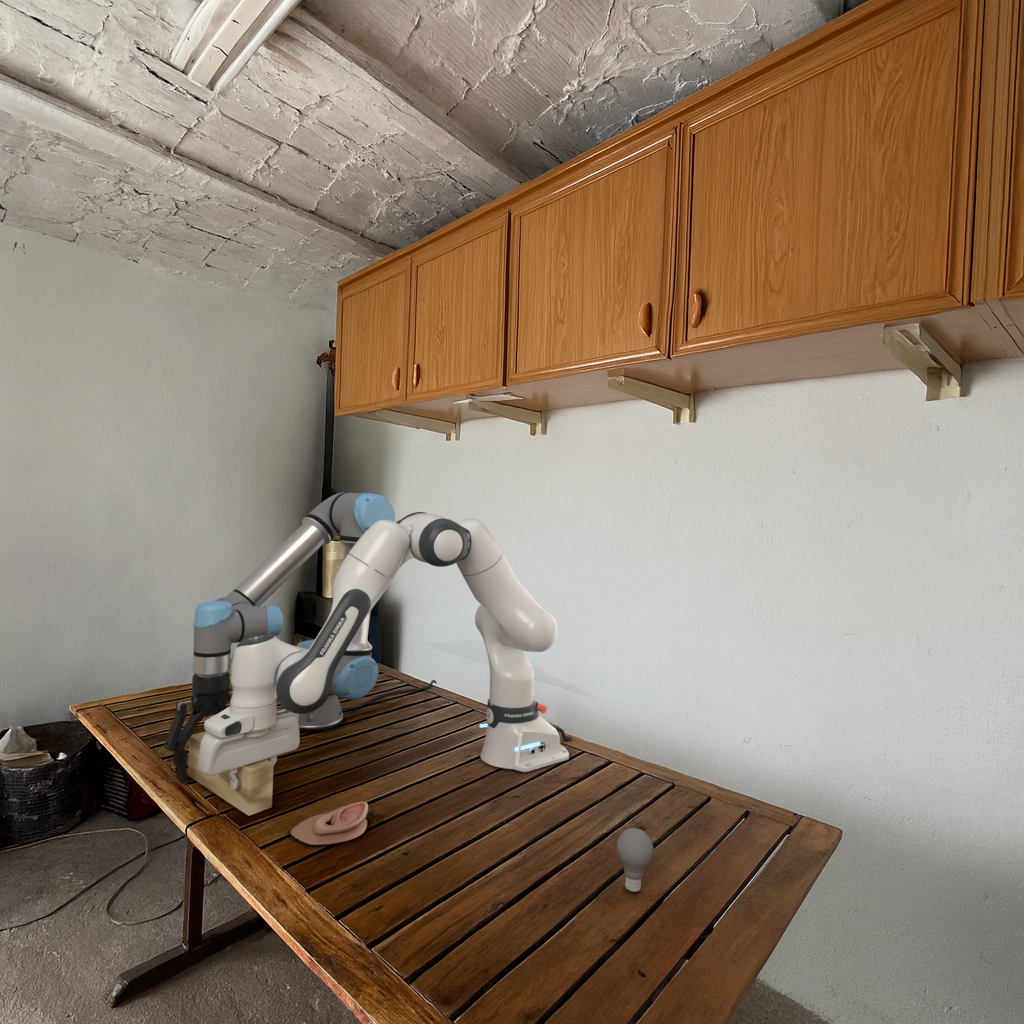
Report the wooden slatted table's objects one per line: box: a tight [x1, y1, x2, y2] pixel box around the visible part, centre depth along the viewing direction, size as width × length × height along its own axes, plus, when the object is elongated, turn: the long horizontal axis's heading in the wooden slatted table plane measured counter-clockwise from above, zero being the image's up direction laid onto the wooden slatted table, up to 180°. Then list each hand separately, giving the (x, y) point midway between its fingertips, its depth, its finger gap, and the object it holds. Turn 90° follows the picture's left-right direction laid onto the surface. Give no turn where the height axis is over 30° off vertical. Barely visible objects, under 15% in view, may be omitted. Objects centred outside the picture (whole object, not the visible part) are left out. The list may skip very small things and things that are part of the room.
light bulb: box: [616, 827, 654, 893], centre depth 106 cm, size 6×6×10 cm
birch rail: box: [187, 730, 275, 817], centre depth 135 cm, size 5×26×9 cm, turn 51°
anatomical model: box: [290, 801, 369, 846], centre depth 120 cm, size 13×4×12 cm
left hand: (207, 771), depth 140 cm, fingers open, 11 cm apart
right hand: (250, 782), depth 129 cm, fingers closed on birch rail, 5 cm apart
